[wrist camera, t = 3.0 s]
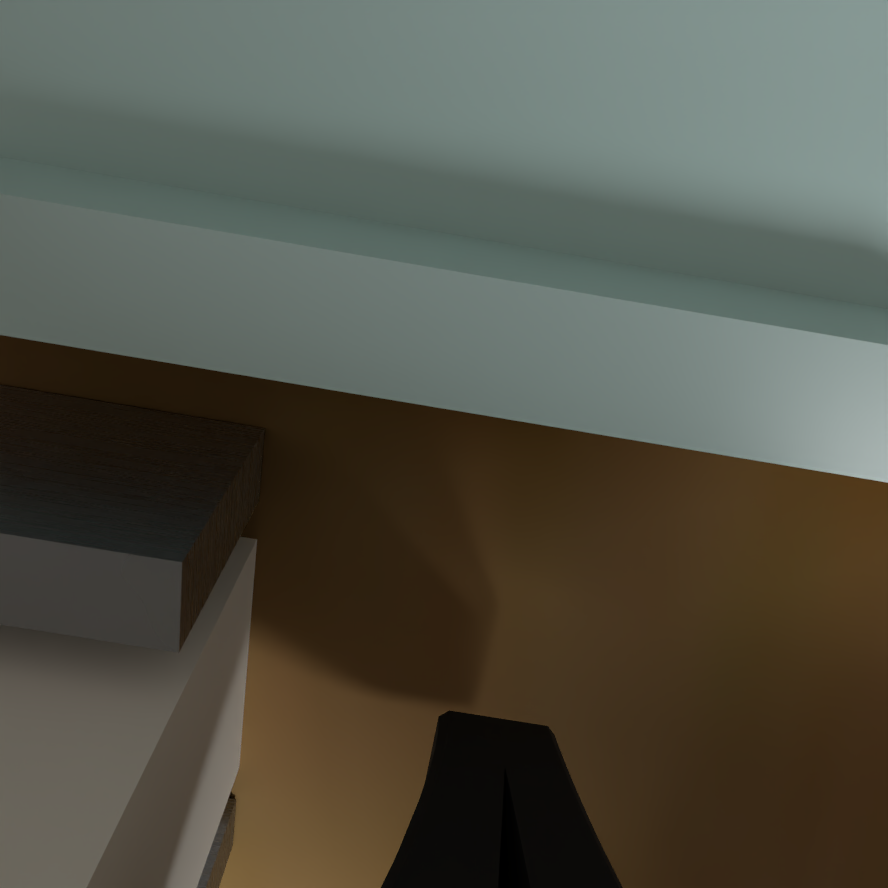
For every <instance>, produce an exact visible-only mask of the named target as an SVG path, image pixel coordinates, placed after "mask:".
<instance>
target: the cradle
mask: <svg viewBox="0 0 888 888" xmlns="http://www.w3.org/2000/svg"><path fill="white" fill-rule="evenodd" d="M0 335H4V336H10V337H16V338H22V339H28V340H34V341H40V342H46V343H52V344H58V345H64V346H70V347H76V348H82V349H88V350H94V351H100V352H106V353H112V354H118V355H124V356H130V357H136V358H142V359H148V360H154V361H160V362H166V363H172V364H178V365H184V366H190V367H196V368H202V369H208V370H214V371H220V372H226V373H232V374H238V375H244V376H250V377H256V378H262V379H268V380H274V381H280V382H286V383H292V384H298V385H304V386H310V387H316V388H322V389H328V390H334V391H341V392H347V393H353V394H359V395H365V396H371V397H377V398H383V399H389V400H395V401H401V402H407V403H413V404H419V405H425V406H431V407H437V408H443V409H449V410H455V411H461V412H467V413H473V414H479V415H485V416H491V417H497V418H503V419H509V420H515V421H521V422H527V423H533V424H539V425H545V426H551V427H557V428H563V429H569V430H575V431H581V432H587V433H593V434H599V435H605V436H611V437H617V438H623V439H629V440H635V441H641V442H647V443H653V444H659V445H665V446H671V447H677V448H683V449H689V450H695V451H701V452H707V453H713V454H719V455H725V456H731V457H737V458H743V459H749V460H755V461H761V462H767V463H773V464H779V465H785V466H791V467H797V468H803V469H809V470H815V471H821V472H827V473H833V474H839V475H846V476H852V477H858V478H864V479H870V480H876V481H882V482H888V0H0Z"/></svg>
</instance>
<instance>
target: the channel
mask: <svg viewBox="0 0 888 888" xmlns="http://www.w3.org/2000/svg"><path fill="white" fill-rule="evenodd" d="M264 432H265V429H264V428H258V427H252V426H246V425H240V424H234V423H228V422H222V421H216V420H210V419H204V418H198V417H192V416H186V415H180V414H174V413H167V412H161V411H155V410H149V409H143V408H137V407H131V406H125V405H119V404H113V403H107V402H101V401H95V400H89V399H83V398H76V397H70V396H64V395H58V394H52V393H46V392H40V391H34V390H28V389H22V388H16V387H10V386H4V385H0V625H6V626H12V627H19V628H25V629H31V630H38V631H44V632H50V633H57V634H63V635H69V636H76V637H82V638H88V639H95V640H101V641H107V642H114V643H120V644H126V645H133V646H139V647H145V648H152V649H158V650H164V651H171V652H177V653H179V652H180V650H181V648H182V646H183V644H184V642H185V640H186V639H187V637H188V635H189V633H190V631H191V629H192V627H193V625H194V623H195V621H196V620H197V618H198V616H199V614H200V612H201V610H202V608H203V606H204V604H205V602H206V601H207V599H208V597H209V595H210V593H211V591H212V589H213V587H214V585H215V584H216V582H217V580H218V578H219V576H220V574H221V572H222V570H223V568H224V566H225V565H226V563H227V561H228V559H229V557H230V555H231V553H232V551H233V549H234V547H235V546H236V544H237V542H238V540H239V538H240V536H241V534H242V532H243V530H244V528H245V527H246V525H247V523H248V521H249V519H250V517H251V515H252V513H253V511H254V509H255V508H256V506H257V504H258V502H259V497H260V484H261V471H262V458H263V445H264ZM235 808H236V799H231V798H228V801H227V804H226V806H225V809H224V812H223V815H222V818H221V820H220V823H219V826H218V829H217V832H216V835H215V837H214V840H213V843H212V846H211V849H210V851H209V854H208V857H207V860H206V863H205V866H204V868H203V871H202V874H201V877H200V880H199V882H198V885H197V888H219V886H220V883H221V880H222V876H223V873H224V870H225V867H226V864H227V861H228V858H229V855H230V852H231V849H232V846H233V834H234V821H235Z"/></svg>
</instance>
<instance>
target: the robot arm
mask: <svg viewBox="0 0 888 888" xmlns="http://www.w3.org/2000/svg"><path fill="white" fill-rule="evenodd" d="M381 888H622V886H621V884H620V882H619V880H618V878H617V876H616V874H615V872H614V870H613V868H612V866H611V864H610V862H609V860H608V858H607V856H606V854H605V852H604V850H603V848H602V846H601V843H600V841H599V839H598V837H597V835H596V833H595V831H594V829H593V826H592V824H591V822H590V820H589V818H588V815H587V813H586V811H585V809H584V806H583V804H582V802H581V800H580V797H579V795H578V793H577V791H576V788H575V786H574V783H573V781H572V779H571V776H570V774H569V771H568V769H567V767H566V764H565V762H564V759H563V756H562V754H561V751H560V749H559V746H558V743H557V741H556V738H555V735H554V734H553V732H552V731H551V730H550V728H549V727H548V726H543V725H537V724H531V723H524V722H518V721H512V720H505V719H499V718H493V717H486V716H480V715H474V714H467V713H461V712H455V711H448V712H446V713H444V714H443V715H441V716H439V718H438V723H437V728H436V733H435V737H434V742H433V747H432V752H431V757H430V762H429V766H428V771H427V776H426V781H425V784H424V787H423V790H422V793H421V796H420V799H419V802H418V804H417V807H416V809H415V812H414V814H413V817H412V819H411V821H410V824H409V826H408V829H407V831H406V834H405V836H404V839H403V841H402V844H401V846H400V849H399V851H398V853H397V855H396V858H395V860H394V862H393V864H392V866H391V868H390V870H389V872H388V874H387V876H386V878H385V880H384V882H383V885H382V887H381Z"/></svg>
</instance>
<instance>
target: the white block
mask: <svg viewBox="0 0 888 888" xmlns="http://www.w3.org/2000/svg"><path fill="white" fill-rule="evenodd" d="M256 547H257V539H252V538H246V537H240V538H239V540H238V542H237V544H236V546H235V547H234V549H233V551H232V553H231V555H230V557H229V559H228V561H227V563H226V565H225V566H224V568H223V570H222V572H221V574H220V576H219V578H218V580H217V582H216V584H215V585H214V587H213V589H212V591H211V593H210V595H209V597H208V599H207V601H206V602H205V604H204V606H203V608H202V610H201V612H200V614H199V616H198V618H197V620H196V621H195V623H194V625H193V627H192V629H191V631H190V633H189V635H188V637H187V639H186V640H185V642H184V644H183V646H182V648H181V650H180V652H179V653H177V652H171V651H164V650H158V649H152V648H145V647H139V646H133V645H126V644H120V643H114V642H107V641H101V640H95V639H88V638H82V637H76V636H69V635H63V634H57V633H50V632H44V631H38V630H31V629H25V628H19V627H12V626H6V625H0V888H197V885H198V882H199V880H200V877H201V874H202V871H203V868H204V866H205V863H206V860H207V857H208V854H209V851H210V849H211V846H212V843H213V840H214V837H215V835H216V832H217V829H218V826H219V823H220V820H221V818H222V815H223V812H224V809H225V806H226V804H227V801H228V798H229V795H230V792H231V789H232V787H233V784H234V781H235V778H236V775H237V773H238V770H239V764H240V752H241V739H242V726H243V713H244V701H245V688H246V675H247V662H248V650H249V637H250V624H251V611H252V598H253V586H254V573H255V560H256Z"/></svg>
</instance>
